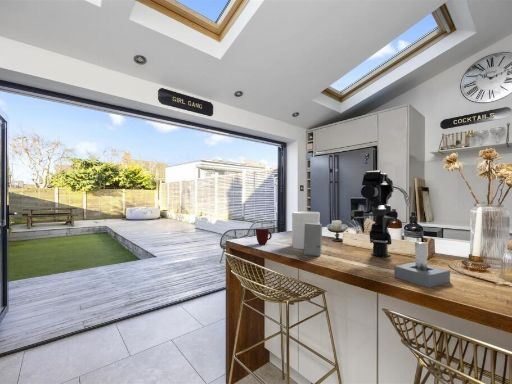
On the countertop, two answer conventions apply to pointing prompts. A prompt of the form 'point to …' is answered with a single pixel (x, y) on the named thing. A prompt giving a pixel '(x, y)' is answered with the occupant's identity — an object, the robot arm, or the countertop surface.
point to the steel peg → (421, 256)
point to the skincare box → (313, 239)
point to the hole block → (422, 275)
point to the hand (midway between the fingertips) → (373, 232)
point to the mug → (263, 235)
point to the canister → (302, 226)
